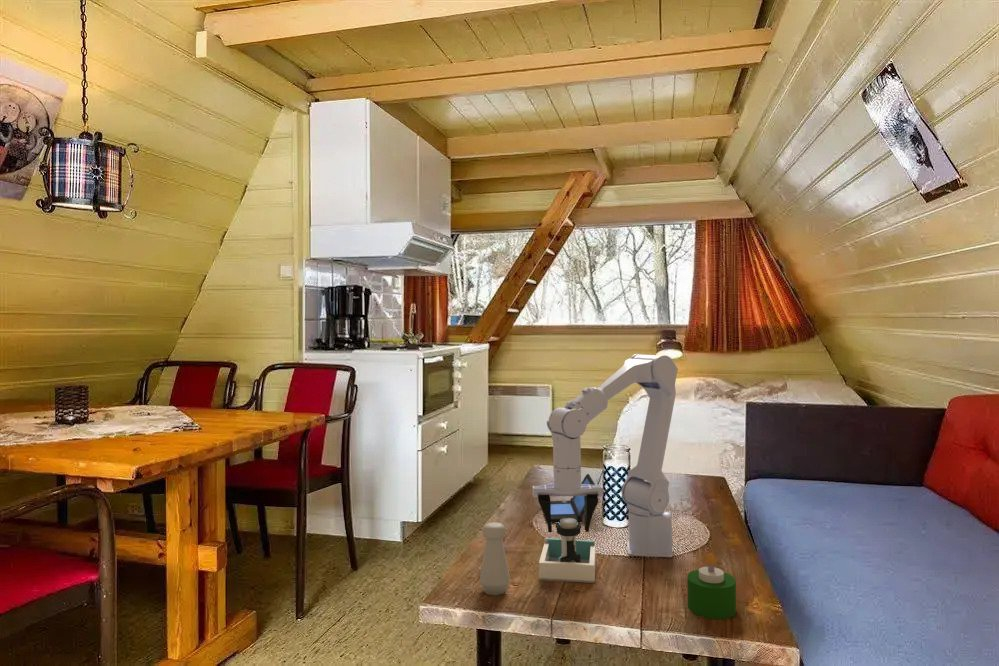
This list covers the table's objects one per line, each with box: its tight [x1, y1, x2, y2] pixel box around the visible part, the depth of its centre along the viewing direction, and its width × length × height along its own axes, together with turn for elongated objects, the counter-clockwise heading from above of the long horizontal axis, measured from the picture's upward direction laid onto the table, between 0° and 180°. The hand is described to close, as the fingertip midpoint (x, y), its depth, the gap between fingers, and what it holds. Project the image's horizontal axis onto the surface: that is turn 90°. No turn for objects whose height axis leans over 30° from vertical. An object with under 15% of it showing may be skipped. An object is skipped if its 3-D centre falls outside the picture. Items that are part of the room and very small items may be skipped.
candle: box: [686, 552, 737, 620], centre depth 113 cm, size 8×8×10 cm
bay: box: [538, 543, 597, 584], centre depth 131 cm, size 11×11×4 cm
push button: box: [555, 518, 582, 563], centre depth 131 cm, size 7×5×10 cm
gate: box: [543, 537, 596, 560], centre depth 137 cm, size 11×1×4 cm, turn 78°
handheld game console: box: [544, 473, 596, 523], centre depth 169 cm, size 16×13×9 cm
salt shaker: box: [479, 522, 511, 596], centre depth 122 cm, size 6×6×13 cm
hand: (568, 530), depth 132 cm, fingers open, 7 cm apart
